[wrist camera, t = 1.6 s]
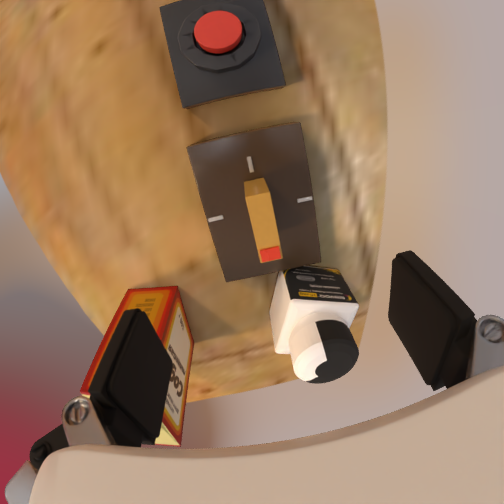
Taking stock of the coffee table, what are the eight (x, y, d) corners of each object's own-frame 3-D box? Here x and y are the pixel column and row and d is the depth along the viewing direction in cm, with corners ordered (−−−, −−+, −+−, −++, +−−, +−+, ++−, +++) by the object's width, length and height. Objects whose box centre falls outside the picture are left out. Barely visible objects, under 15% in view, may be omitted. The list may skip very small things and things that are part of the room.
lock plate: (190, 144, 24) (185, 147, 22) (294, 121, 24) (300, 122, 22) (226, 270, 31) (226, 283, 28) (315, 251, 30) (321, 262, 28)
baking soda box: (194, 343, 36) (180, 449, 22) (150, 344, 36) (123, 443, 22) (177, 285, 31) (145, 402, 17) (128, 289, 31) (78, 394, 17)
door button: (193, 23, 16) (189, 16, 15) (236, 13, 16) (236, 6, 14) (201, 58, 18) (198, 53, 16) (246, 48, 18) (246, 43, 16)
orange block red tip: (243, 181, 24) (245, 198, 19) (263, 177, 24) (270, 192, 19) (256, 237, 26) (260, 265, 22) (275, 233, 26) (283, 260, 22)
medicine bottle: (339, 268, 31) (379, 339, 21) (322, 315, 35) (348, 389, 24) (280, 261, 31) (301, 339, 20) (268, 312, 34) (280, 392, 23)
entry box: (164, 14, 18) (154, 0, 14) (256, -7, 17) (259, -24, 14) (187, 109, 23) (178, 107, 19) (282, 88, 22) (289, 82, 19)
